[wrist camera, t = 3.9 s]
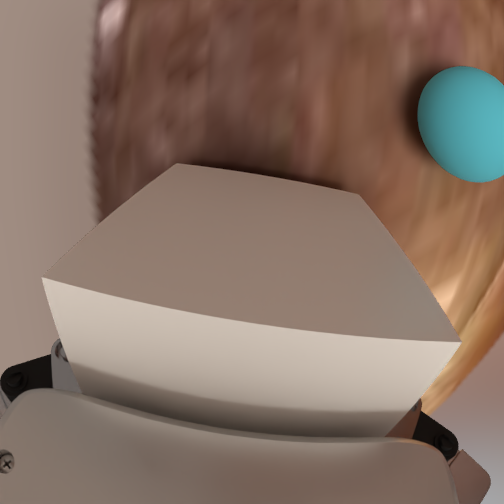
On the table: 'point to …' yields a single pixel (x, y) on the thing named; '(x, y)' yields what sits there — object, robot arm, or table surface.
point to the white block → (249, 308)
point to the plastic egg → (464, 123)
